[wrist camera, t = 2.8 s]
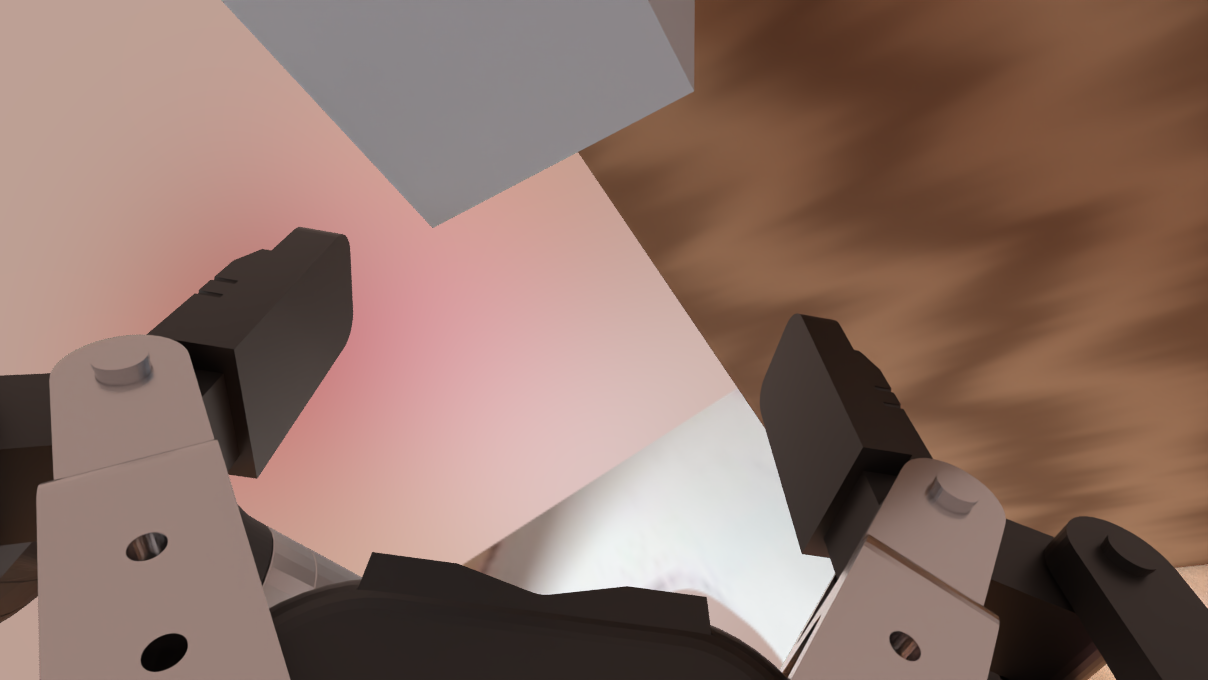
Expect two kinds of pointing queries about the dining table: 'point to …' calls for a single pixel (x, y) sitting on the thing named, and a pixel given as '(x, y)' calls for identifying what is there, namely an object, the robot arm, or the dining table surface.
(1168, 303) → the wooden block
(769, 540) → the dining table surface
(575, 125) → the lever
